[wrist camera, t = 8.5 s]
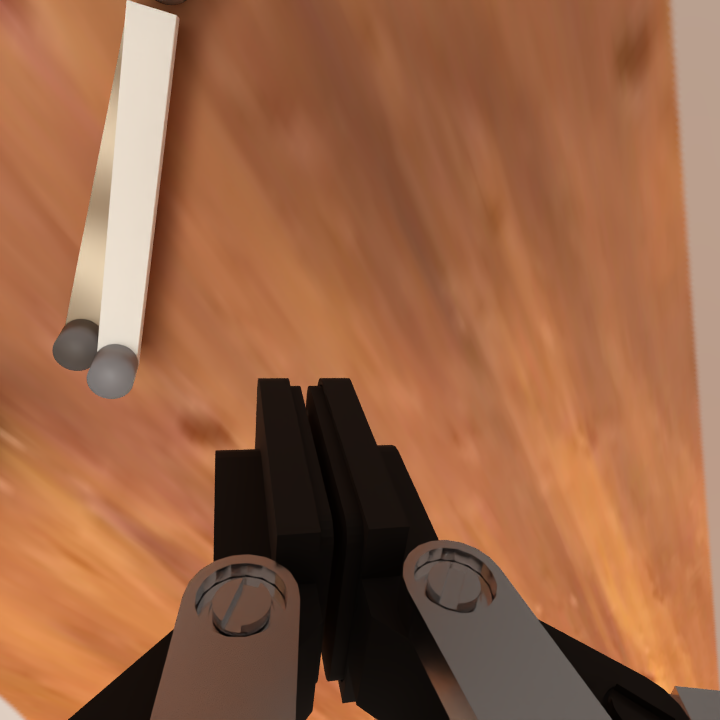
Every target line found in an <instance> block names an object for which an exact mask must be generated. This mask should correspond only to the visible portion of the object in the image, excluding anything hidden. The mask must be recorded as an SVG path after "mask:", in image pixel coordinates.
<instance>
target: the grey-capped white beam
mask: <svg viewBox="0 0 720 720" xmlns="http://www.w3.org/2000/svg"><path fill="white" fill-rule="evenodd" d="M129 1H130V0H129ZM156 1H158V2H160V3H163V4H167V5H176V4H180V3H182V2H184V1H186V0H156ZM124 27H125V24H124ZM123 39H124V30H123V35H122V40H121V45H120V50H119V55H118V60H117V65H116V70H115V75H114V80H113V85H112V91H111V96H110V101H109V106H108V111H107V116H106V121H105V126H104V131H103V136H102V141H101V147H100V152H99V157H98V162H97V167H96V172H95V177H94V182H93V187H92V192H91V197H90V202H89V208H88V213H87V218H86V223H85V228H84V233H83V238H82V243H81V248H80V253H79V258H78V264H77V269H76V274H75V279H74V284H73V289H72V294H71V299H70V304H69V309H68V314H67V319H66V325H65V326H64V328H63V329H62V331H61V333H60V334H59V336H58V338H57V340H56V341H55V343H54V345H53V355H54V358H55V360H56V361H57V362H58V363H59V364H60V365H61V366H63V367H64V368H67V369H69V370H74V371H81V370H86V369H88V368H90V367H91V364H92V362H93V360H94V358H95V355H96V353H97V348H98V336H99V324H100V312H101V300H102V288H103V277H104V265H105V253H106V241H107V229H108V217H109V205H110V193H111V181H112V169H113V158H114V146H115V134H116V122H117V110H118V98H119V86H120V74H121V62H122V50H123Z"/></svg>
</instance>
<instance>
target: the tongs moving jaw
mask: <svg viewBox="0 0 720 720" xmlns="http://www.w3.org/2000/svg"><path fill="white" fill-rule="evenodd" d="M179 19H180V18H179V17H178V16H177V15H174V14H171V13H168V12H164V11H161V10H158V9H155V8H151V7H148V6H145V5H141V4H138V3H135V2H132V1H128V0H127V3H126V15H125V27H124V39H123V50H122V62H121V74H120V86H119V98H118V110H117V122H116V134H115V146H114V158H113V169H112V181H111V193H110V205H109V217H108V229H107V241H106V253H105V265H104V277H103V288H102V300H101V312H100V324H99V336H98V348H97V353H96V355H95V358H94V360H93V362H92V364H91V367H90V369H89V371H88V374H87V383H88V386H89V388H90V389H91V390H92V391H93V392H94V393H95V394H97V395H98V396H100V397H103V398H107V399H116V398H120V397H123V396H125V395H126V394H127V393H128V392H129V391H130V390H131V388H132V386H133V383H134V381H135V377H136V373H137V370H138V366H139V360H140V351H141V343H142V334H143V326H144V317H145V309H146V300H147V292H148V283H149V274H150V266H151V257H152V249H153V240H154V232H155V223H156V215H157V206H158V198H159V189H160V181H161V172H162V164H163V155H164V147H165V138H166V130H167V121H168V113H169V104H170V95H171V87H172V78H173V70H174V61H175V53H176V44H177V36H178V27H179Z"/></svg>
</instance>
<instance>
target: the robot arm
mask: <svg viewBox="0 0 720 720" xmlns="http://www.w3.org/2000/svg"><path fill="white" fill-rule="evenodd" d="M321 653H322V659H323V665H324V671H325V676H326V679H327V681H335V680H338V682H339V687H340V692H341V698H342V703H348V702H355V701H356V705H357V706H359V707H360V708H362V709H363V710H364V711H366V712H367V713H369V714H370V715H371V716H373V717H374V718H375V719H374V720H720V691H717V690H707V689H697V688H688V687H678V686H675V687H674V689H673V691H672V693H671V694H668V693H667V692H666V691H665V690H664V689H663V688H661V687H660V686H658V685H657V684H655V683H654V682H652V681H651V680H649V679H648V678H646V677H645V676H643V675H641V674H639V673H637V672H635V671H633V670H632V669H630V668H628V667H626V666H624V665H622V664H620V663H619V662H617V661H615V660H613V659H611V658H609V657H607V656H606V655H604V654H602V653H600V652H598V651H596V650H594V649H592V648H591V647H589V646H587V645H585V644H583V643H581V642H579V641H578V640H576V639H574V638H572V637H570V636H568V635H566V634H565V633H563V632H561V631H559V630H557V629H555V628H553V627H552V626H550V625H548V624H546V623H544V622H542V621H540V620H538V619H537V617H536V616H535V615H534V613H533V612H532V611H531V609H530V608H529V607H528V605H527V604H526V603H525V601H524V600H523V599H522V597H521V596H520V595H519V593H518V592H517V591H516V589H515V588H514V586H513V585H512V584H511V582H510V581H509V580H508V578H507V577H506V576H505V574H504V573H503V572H502V570H501V569H500V568H499V567H498V566H497V565H496V564H495V562H494V561H493V560H492V559H491V558H490V557H488V556H487V555H485V554H484V553H482V552H481V551H479V550H478V549H476V548H474V547H471V546H469V545H466V544H464V543H461V542H455V541H449V540H438V537H437V535H436V533H435V531H434V529H433V526H432V524H431V522H430V520H429V518H428V515H427V513H426V511H425V509H424V507H423V504H422V502H421V500H420V498H419V496H418V493H417V491H416V489H415V487H414V485H413V482H412V480H411V478H410V476H409V473H408V471H407V469H406V467H405V465H404V462H403V460H402V458H401V456H400V454H399V451H398V450H397V448H396V447H395V446H393V445H378V446H377V444H376V442H375V439H374V437H373V434H372V432H371V429H370V427H369V424H368V422H367V419H366V417H365V414H364V412H363V410H362V407H361V405H360V402H359V400H358V397H357V395H356V392H355V390H354V387H353V385H352V382H351V380H350V379H349V378H320V379H319V382H318V386H309V387H308V390H307V400H306V407H305V403H304V399H303V395H302V391H301V387H300V386H290V382H289V379H288V378H258V386H257V411H256V438H255V449H250V450H218V451H216V452H215V509H214V562H213V563H211V564H209V565H208V566H206V567H204V568H203V569H201V570H200V571H199V572H198V573H197V574H196V575H195V576H194V577H193V578H192V579H191V580H190V582H189V584H188V586H187V588H186V590H185V592H184V594H183V597H182V601H181V604H180V608H179V612H178V616H177V620H176V623H175V627H174V629H173V630H172V631H171V632H170V633H169V634H168V635H166V636H165V637H164V638H163V639H162V640H161V641H159V642H158V643H157V644H156V645H155V646H154V647H152V648H151V649H150V650H149V651H148V652H147V653H145V654H144V655H143V656H142V657H141V658H140V659H138V660H137V661H136V662H135V663H134V664H133V665H131V666H130V667H129V668H128V669H127V670H126V671H124V672H123V673H122V674H121V675H120V676H118V677H117V678H116V679H115V680H114V681H113V682H111V683H110V684H109V685H108V686H107V687H106V688H104V689H103V690H102V691H101V692H100V693H99V694H97V695H96V696H95V697H94V698H93V699H92V700H90V701H89V702H88V703H87V704H86V705H85V706H83V707H82V708H81V709H80V710H79V711H78V712H76V713H75V714H74V715H73V716H72V717H71V718H69V719H68V720H306V719H307V717H308V716H309V715H310V714H311V712H312V710H313V701H314V693H315V684H316V683H317V681H318V675H319V666H320V658H321Z"/></svg>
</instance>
